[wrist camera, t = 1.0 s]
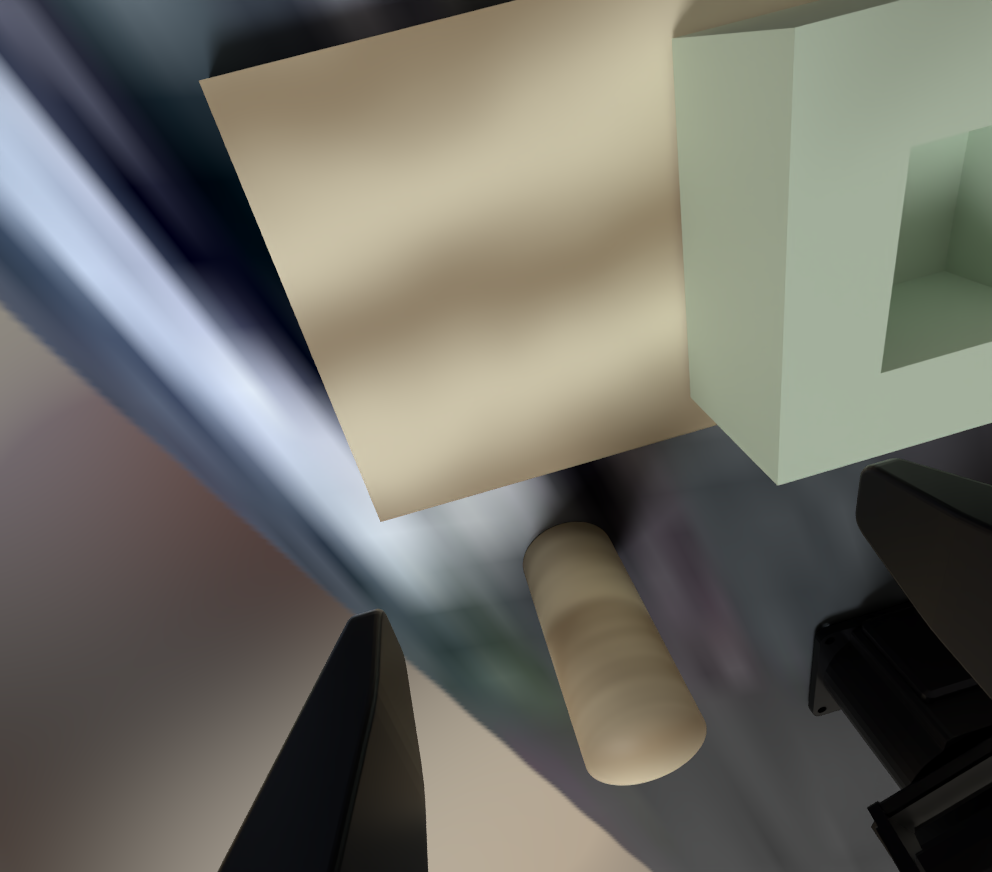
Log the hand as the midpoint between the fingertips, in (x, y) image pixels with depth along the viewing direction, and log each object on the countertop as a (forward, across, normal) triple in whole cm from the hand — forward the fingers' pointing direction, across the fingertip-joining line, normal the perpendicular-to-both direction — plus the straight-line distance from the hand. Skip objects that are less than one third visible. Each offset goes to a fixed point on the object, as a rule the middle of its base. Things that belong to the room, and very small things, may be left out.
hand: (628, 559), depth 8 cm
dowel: (+12, -1, +12) cm, 17 cm away
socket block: (+11, -11, 0) cm, 15 cm away
